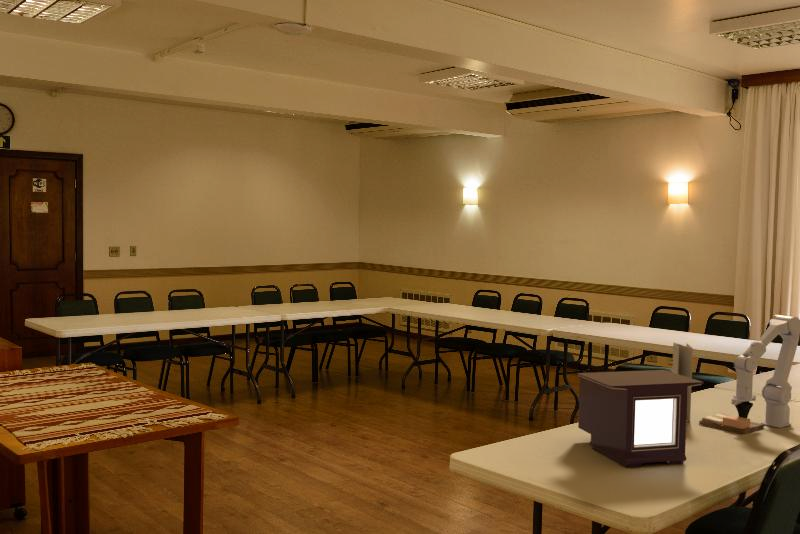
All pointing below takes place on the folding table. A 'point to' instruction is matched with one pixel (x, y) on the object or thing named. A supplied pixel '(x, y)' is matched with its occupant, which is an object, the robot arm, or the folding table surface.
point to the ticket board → (717, 423)
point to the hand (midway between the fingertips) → (742, 420)
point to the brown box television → (635, 415)
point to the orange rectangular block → (736, 422)
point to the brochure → (683, 367)
